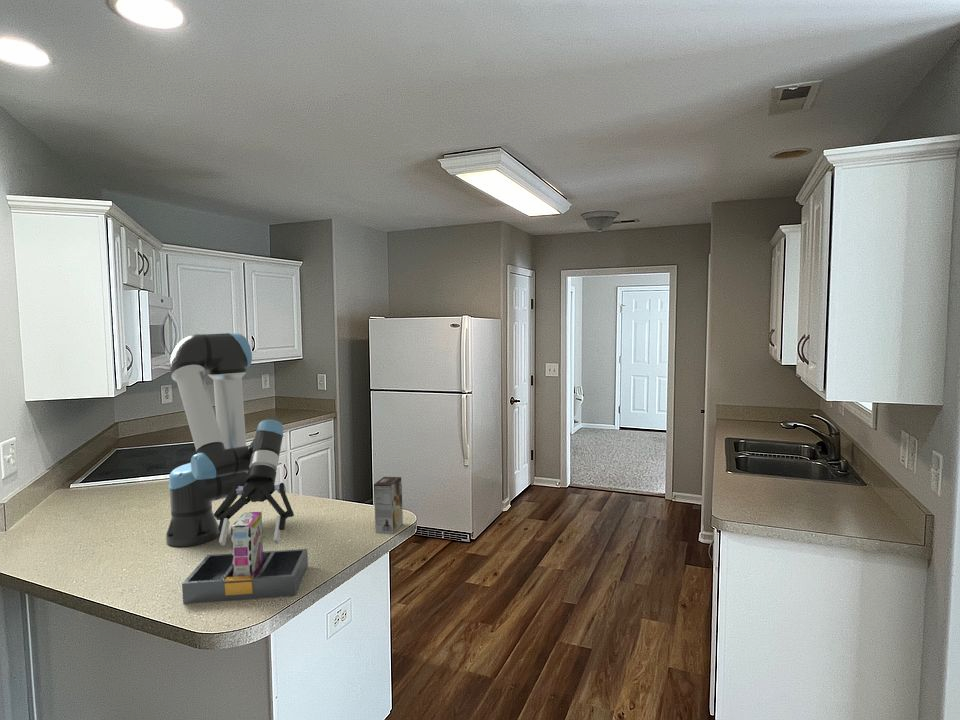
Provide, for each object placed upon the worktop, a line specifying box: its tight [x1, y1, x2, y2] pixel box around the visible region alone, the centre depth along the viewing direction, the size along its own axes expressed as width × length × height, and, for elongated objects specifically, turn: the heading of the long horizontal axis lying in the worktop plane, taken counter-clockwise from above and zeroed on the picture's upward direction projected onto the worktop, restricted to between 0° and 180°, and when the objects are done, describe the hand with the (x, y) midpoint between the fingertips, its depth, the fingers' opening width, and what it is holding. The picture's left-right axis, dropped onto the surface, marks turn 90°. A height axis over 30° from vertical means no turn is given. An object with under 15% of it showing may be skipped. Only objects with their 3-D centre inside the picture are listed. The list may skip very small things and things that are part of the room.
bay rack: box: [181, 548, 309, 605], centre depth 147 cm, size 26×17×5 cm, turn 96°
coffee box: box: [373, 476, 404, 534], centre depth 184 cm, size 9×6×16 cm
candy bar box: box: [230, 511, 264, 577], centre depth 147 cm, size 11×5×16 cm, turn 7°
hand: (248, 543), depth 147 cm, fingers open, 13 cm apart
